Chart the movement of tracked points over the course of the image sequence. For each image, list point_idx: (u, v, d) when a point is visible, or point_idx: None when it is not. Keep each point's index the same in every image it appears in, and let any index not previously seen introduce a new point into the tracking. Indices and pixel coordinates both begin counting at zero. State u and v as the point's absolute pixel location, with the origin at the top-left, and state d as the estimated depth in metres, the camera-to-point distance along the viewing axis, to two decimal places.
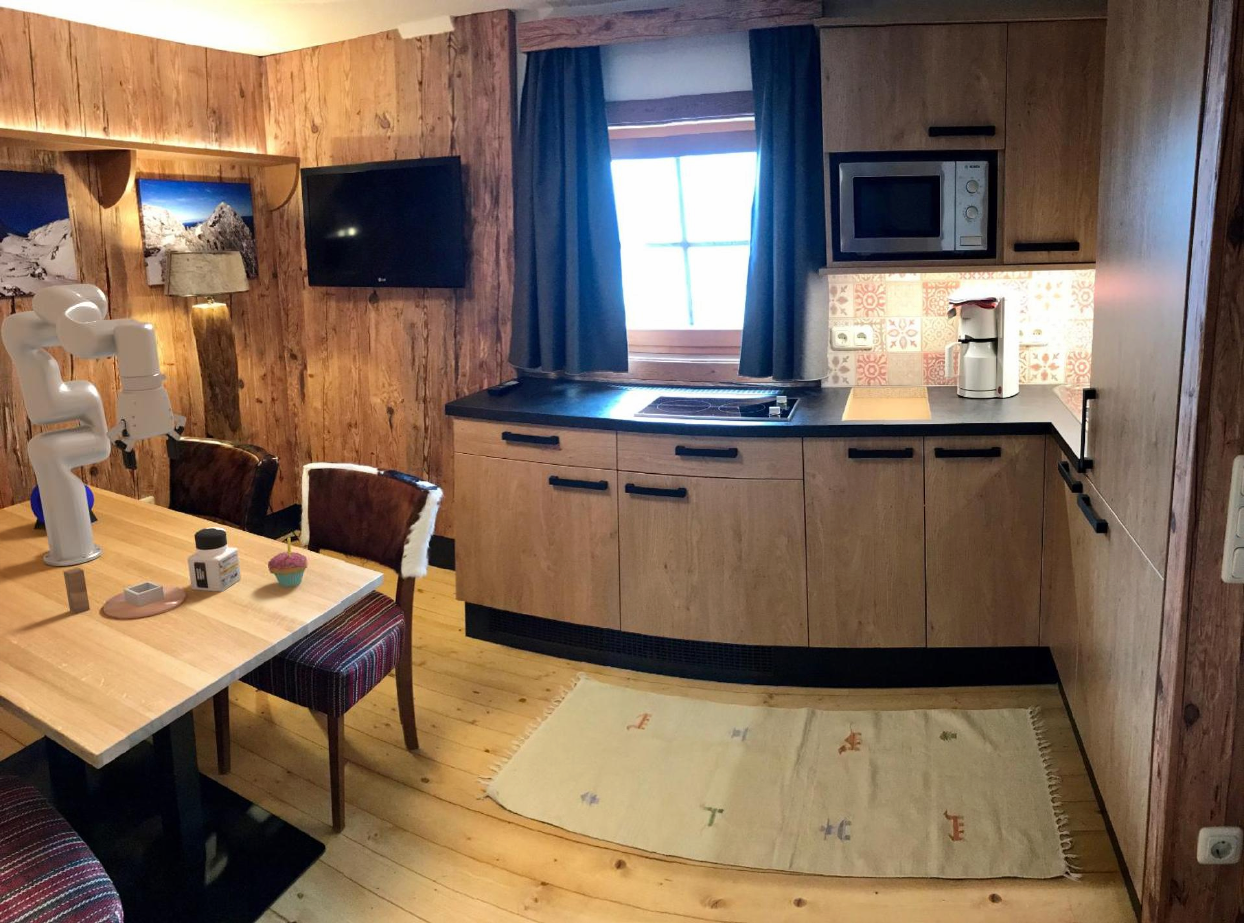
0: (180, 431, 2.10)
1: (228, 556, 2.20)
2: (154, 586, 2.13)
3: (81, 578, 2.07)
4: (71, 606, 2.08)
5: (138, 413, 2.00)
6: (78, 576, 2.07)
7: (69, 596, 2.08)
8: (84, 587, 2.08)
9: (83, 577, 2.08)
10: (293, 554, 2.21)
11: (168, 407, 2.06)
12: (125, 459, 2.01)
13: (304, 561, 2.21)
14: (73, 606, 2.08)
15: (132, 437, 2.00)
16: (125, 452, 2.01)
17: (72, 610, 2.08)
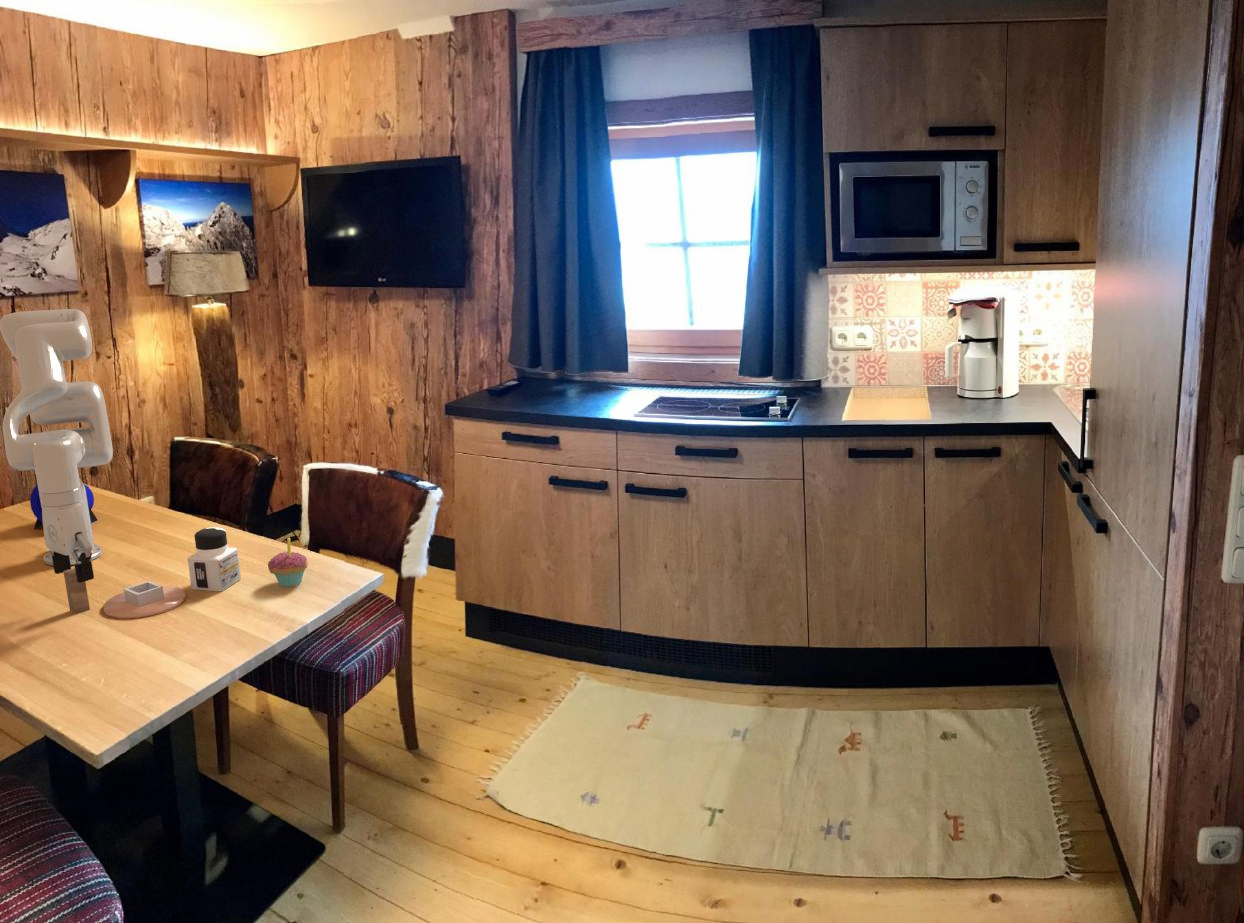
0: None
1: (228, 556, 2.20)
2: (154, 586, 2.13)
3: None
4: (71, 606, 2.08)
5: None
6: None
7: (69, 596, 2.08)
8: (84, 587, 2.08)
9: None
10: (293, 554, 2.21)
11: None
12: (87, 570, 2.03)
13: (304, 561, 2.21)
14: (73, 606, 2.08)
15: None
16: (87, 563, 2.03)
17: (72, 610, 2.08)
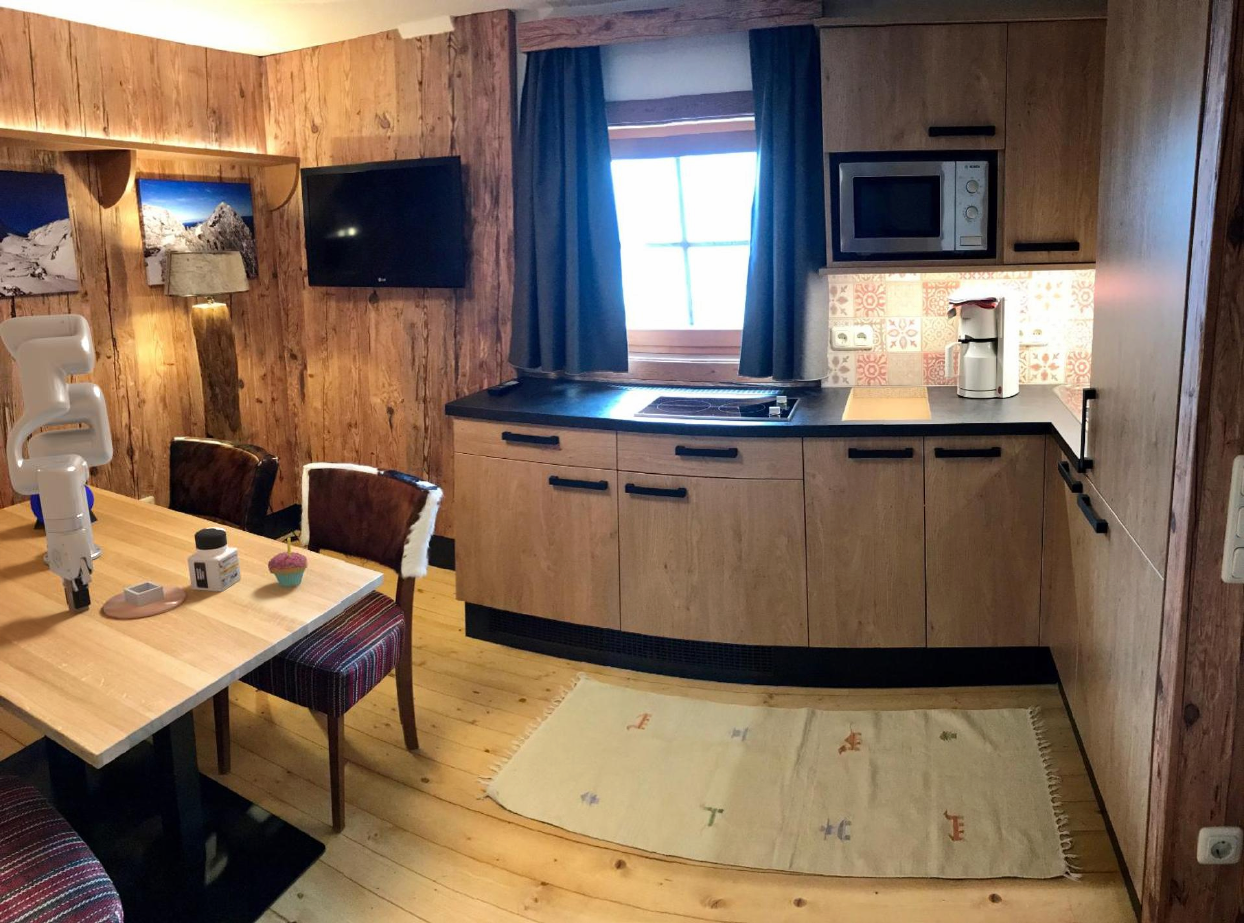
0: None
1: (228, 556, 2.20)
2: (154, 586, 2.13)
3: None
4: (70, 606, 2.08)
5: None
6: None
7: (68, 596, 2.08)
8: None
9: None
10: (293, 554, 2.21)
11: None
12: (84, 597, 2.07)
13: (304, 561, 2.21)
14: (72, 606, 2.08)
15: (92, 571, 2.06)
16: (84, 590, 2.07)
17: (71, 610, 2.08)
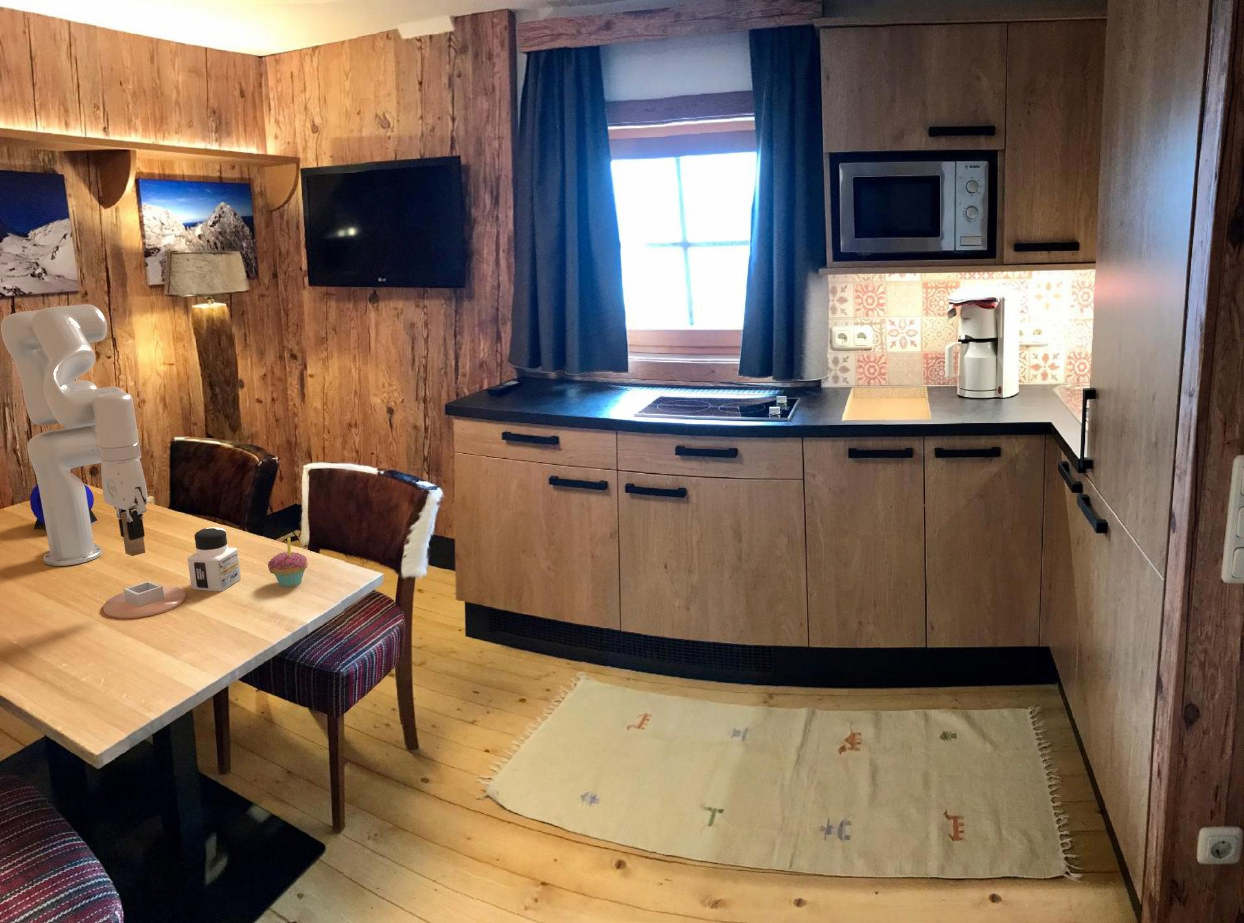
0: None
1: (228, 556, 2.20)
2: (154, 586, 2.13)
3: None
4: (127, 548, 2.08)
5: None
6: None
7: (125, 538, 2.08)
8: None
9: None
10: (293, 554, 2.21)
11: None
12: (138, 528, 2.07)
13: (304, 561, 2.21)
14: (129, 548, 2.08)
15: (147, 501, 2.05)
16: (138, 521, 2.06)
17: (128, 552, 2.08)
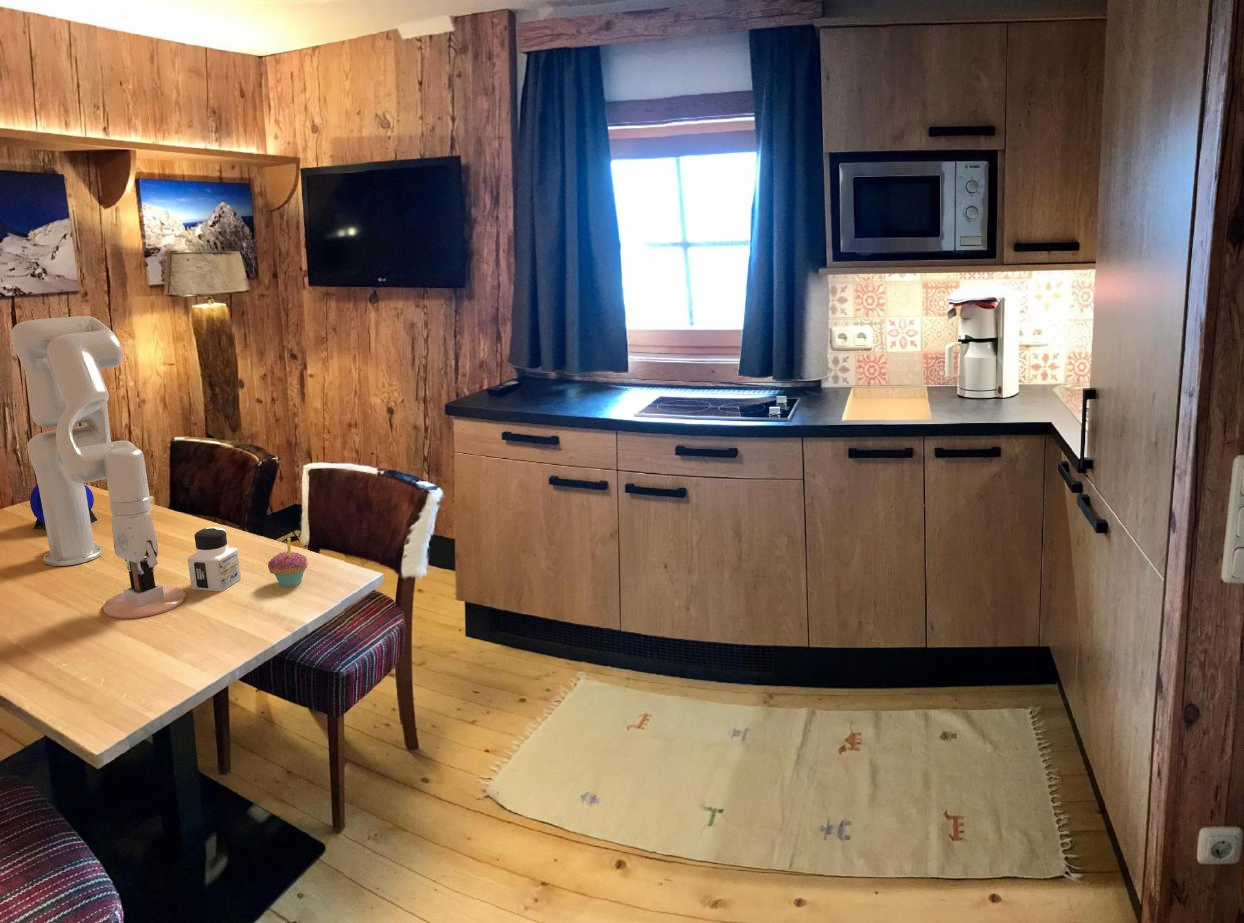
0: None
1: (228, 556, 2.20)
2: None
3: None
4: None
5: None
6: None
7: (136, 586, 2.11)
8: None
9: None
10: (293, 554, 2.21)
11: None
12: (149, 580, 2.09)
13: (304, 561, 2.21)
14: None
15: (157, 554, 2.08)
16: (149, 573, 2.09)
17: None
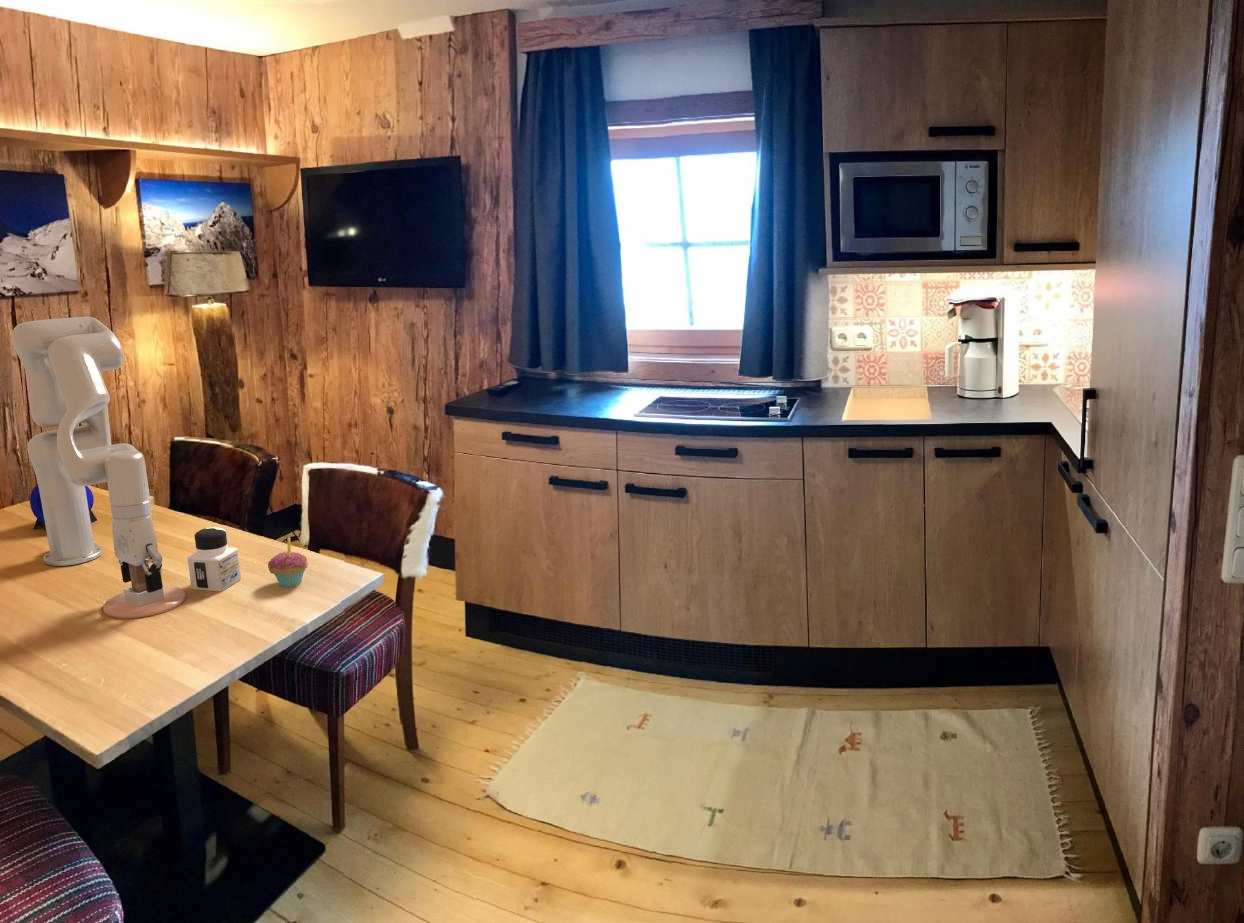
0: None
1: (228, 556, 2.20)
2: None
3: None
4: None
5: None
6: None
7: (134, 586, 2.10)
8: None
9: None
10: (293, 554, 2.21)
11: None
12: (156, 581, 2.08)
13: (304, 561, 2.21)
14: None
15: None
16: (157, 573, 2.08)
17: None
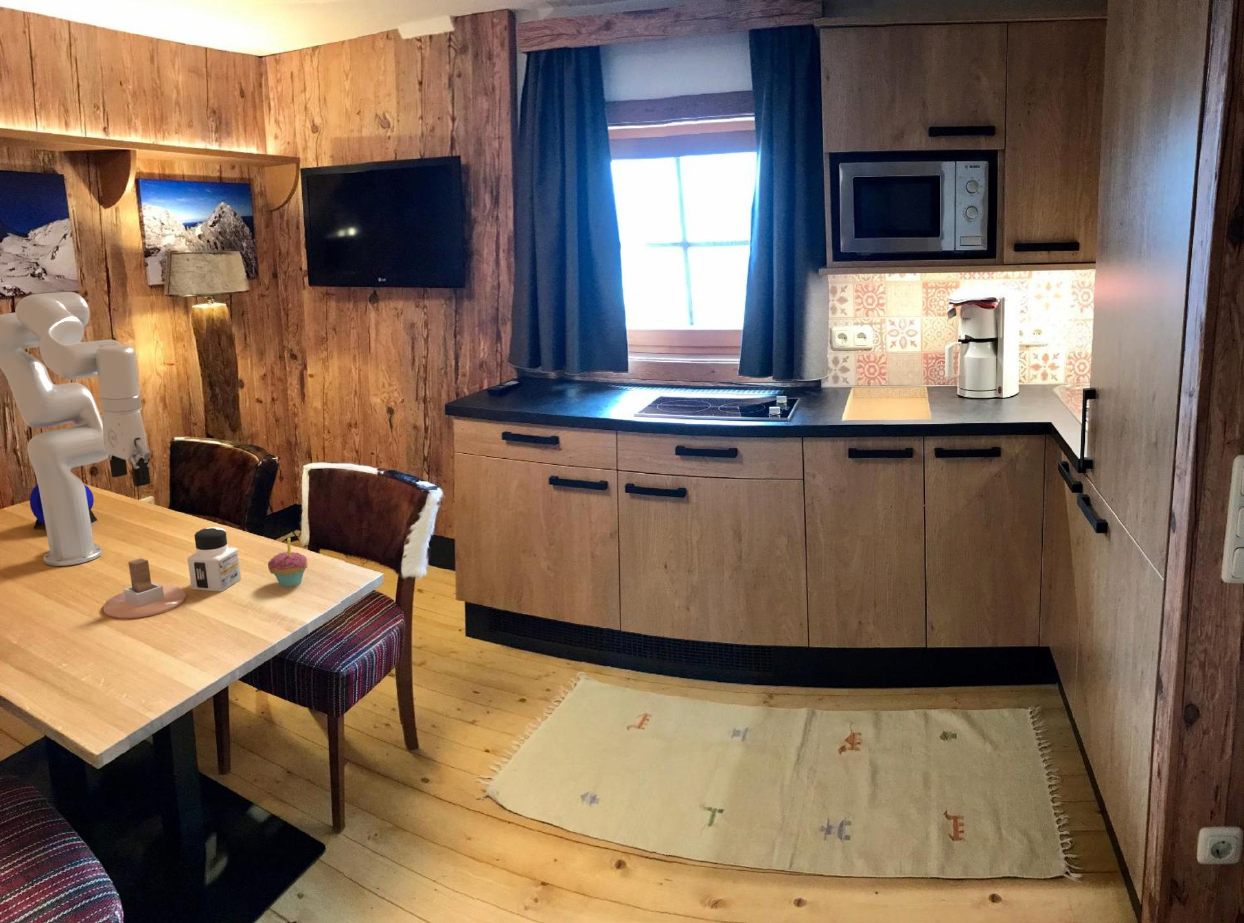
0: None
1: (228, 556, 2.20)
2: (154, 586, 2.13)
3: (146, 569, 2.10)
4: None
5: None
6: (143, 567, 2.09)
7: (134, 586, 2.10)
8: (148, 578, 2.11)
9: (147, 568, 2.10)
10: (293, 554, 2.21)
11: None
12: (144, 475, 2.11)
13: (304, 561, 2.21)
14: None
15: None
16: (145, 468, 2.11)
17: None
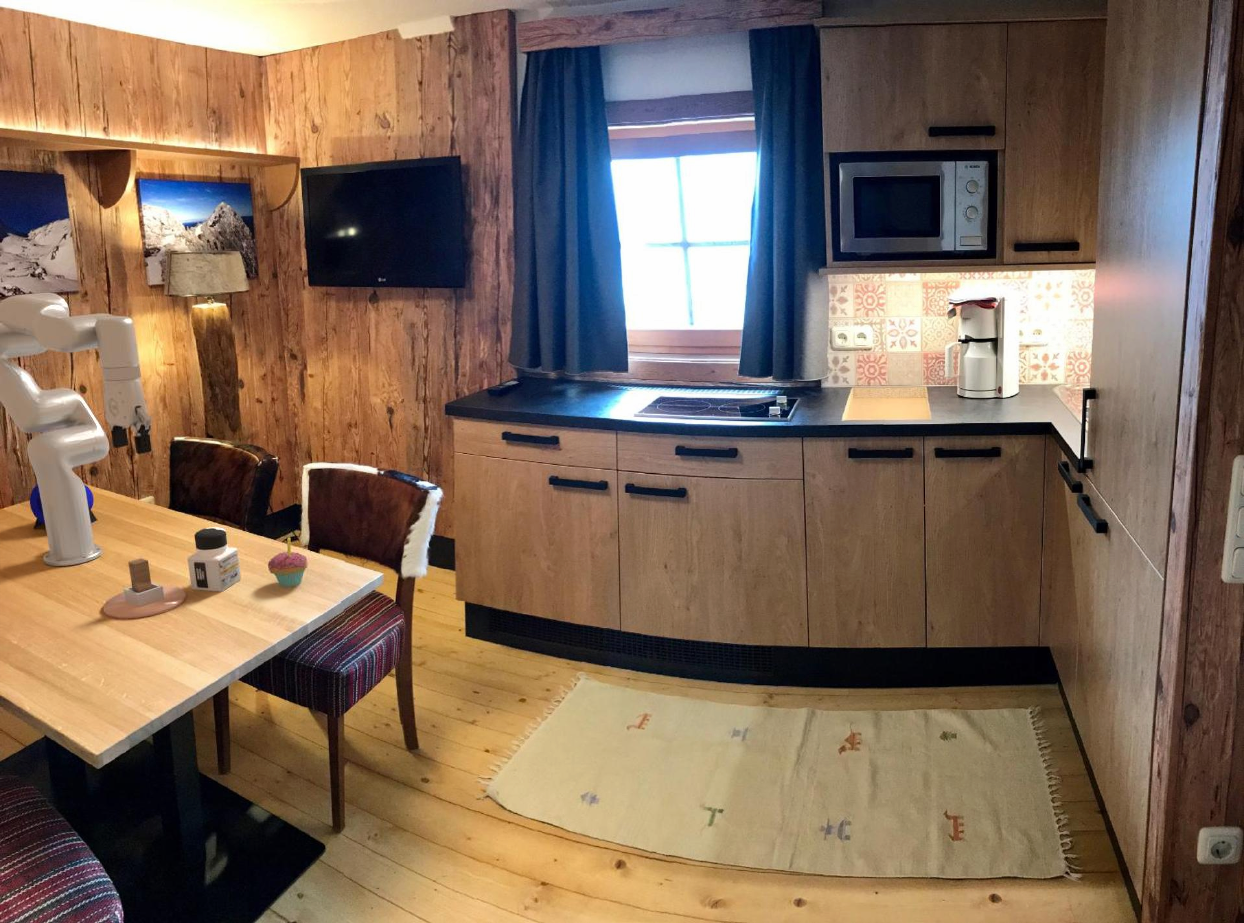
0: None
1: (228, 556, 2.20)
2: (154, 586, 2.13)
3: (146, 569, 2.10)
4: None
5: None
6: (143, 567, 2.09)
7: (134, 586, 2.10)
8: (148, 578, 2.11)
9: (147, 568, 2.10)
10: (293, 554, 2.21)
11: None
12: (145, 443, 2.16)
13: (304, 561, 2.21)
14: None
15: None
16: (146, 436, 2.16)
17: None
